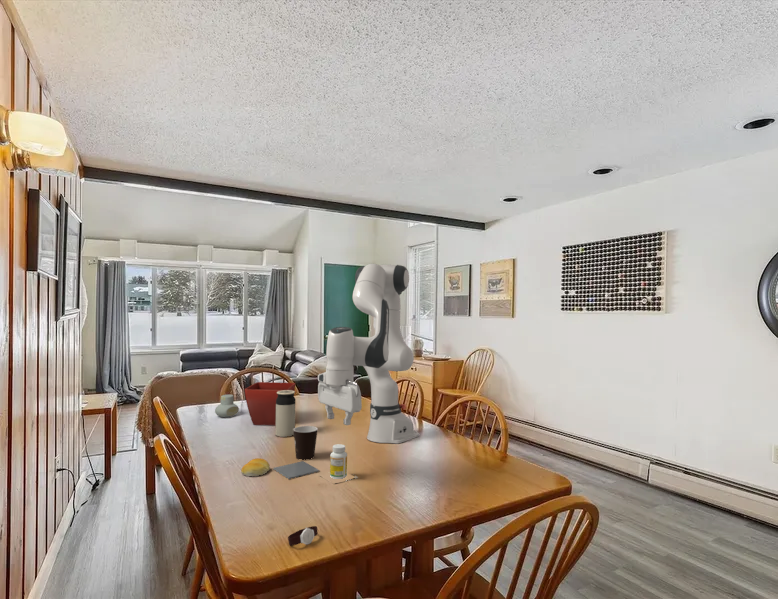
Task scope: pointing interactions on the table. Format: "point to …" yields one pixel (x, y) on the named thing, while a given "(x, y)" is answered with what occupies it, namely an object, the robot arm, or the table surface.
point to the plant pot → (264, 401)
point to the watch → (303, 536)
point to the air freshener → (227, 407)
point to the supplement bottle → (338, 462)
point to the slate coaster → (296, 469)
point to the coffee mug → (305, 441)
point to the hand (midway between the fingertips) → (338, 421)
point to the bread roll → (255, 467)
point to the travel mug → (285, 413)
